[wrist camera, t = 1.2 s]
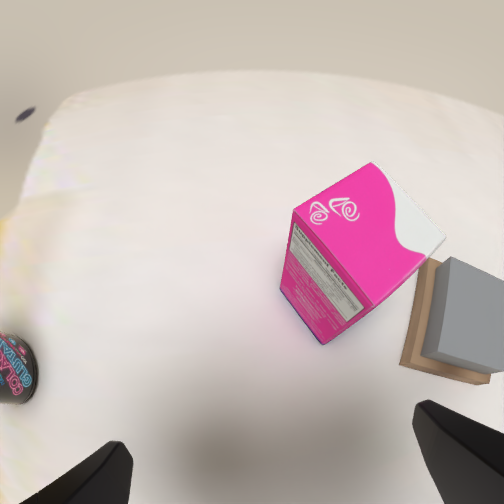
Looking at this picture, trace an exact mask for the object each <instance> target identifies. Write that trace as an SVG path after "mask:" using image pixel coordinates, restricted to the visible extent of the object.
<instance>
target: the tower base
mask: <svg viewBox="0 0 504 504" xmlns="http://www.w3.org/2000/svg"><path fill="white" fill-rule="evenodd" d="M441 264H442V262H439V261H437V260H434V259H432V258H430V257H429V258H428V259H427V260H426V261H425V262H424V263H423V264H422V265H421V266H420V267H419V272H418V279H417V285H416V291H415V297H414V302H413V308H412V313H411V318H410V323H409V327H408V332H407V336H406V340H405V345H404V349H403V353H402V357H401V360H400V364H399V365H401V366H405V367H408V368H412V369H416V370H419V371H423V372H427V373H430V374H434V375H438V376H442V377H446V378H450V379H453V380H457V381H462V382H466V383H470V384H474V385H481V384H489V382H490V377H491V374H486V375H485V374H482V373H478V372H474V371H471V370H467V369H464V368H460V367H456V366H453V365H450V364H446V363H443V362H439V361H436V360H432V359H429V358H426V357H423V356H420V355H421V351H422V347H423V342H424V338H425V333H426V328H427V323H428V318H429V312H430V306H431V300H432V294H433V287H434V279H435V271H436V268H437V267H438V266H440V265H441Z"/></svg>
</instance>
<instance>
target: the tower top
mask: <svg viewBox="0 0 504 504" xmlns="http://www.w3.org/2000/svg"><path fill="white" fill-rule="evenodd" d="M420 356H423V357H426V358H429V359H432V360H436V361H439V362H443V363H446V364H450V365H453V366H456V367H460V368H464V369H467V370H471V371H474V372H478V373H482V374H485V375H486V374H492V373H497V372H502V371H504V281H503V280H500V279H498V278H496V277H494V276H492V275H490V274H488V273H486V272H484V271H482V270H480V269H477V268H475V267H473V266H471V265H469V264H467V263H464V262H462V261H460V260H458V259H456V258H453V257H450V258H448V259H447V260H446V261H445V262H443V263H442V264H441V265H440V266H438V267H437V268H436V271H435V279H434V287H433V294H432V300H431V306H430V312H429V318H428V323H427V328H426V333H425V338H424V342H423V347H422V351H421V355H420Z"/></svg>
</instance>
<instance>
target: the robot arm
mask: <svg viewBox="0 0 504 504" xmlns="http://www.w3.org/2000/svg"><path fill="white" fill-rule="evenodd" d="M412 425H413V429H414V432H415V435H416V438H417V440H418V443H419V446H420V449H421V452H422V455H423V458H424V461H425V463H426V466H427V468H428V470H429V472H430V474H431V476H432V478H433V480H434V483H435V485H436V487H437V489H438V491H439V493H440V495H441V497H442V499H443V501H444V504H504V433H501V432H499V431H497V430H494V429H492V428H490V427H488V426H485V425H483V424H481V423H479V422H476V421H474V420H472V419H470V418H467V417H465V416H463V415H461V414H459V413H457V412H455V411H452V410H450V409H448V408H446V407H444V406H442V405H440V404H438V403H436V402H433V401H431V400H424V401H422V402H419V403H417V404H416V406H415V410H414V416H413V421H412ZM132 470H133V458H132V456H131V454H130V453H129V451H128V450H127V448H126V447H125V445H124V444H123V443H122V442H120V441H109V442H108V443H106V444H105V445H104V446H102V447H101V448H100V449H98V450H97V451H96V452H94V453H93V454H92V455H90V456H89V457H87V458H86V459H85V460H83V461H82V462H81V463H79V464H78V465H76V466H75V467H74V468H72V469H71V470H69V471H68V472H66V473H65V474H64V475H62V476H61V477H59V478H58V479H56V480H55V481H53V482H52V483H51V484H49V485H48V486H46V487H45V488H43V489H42V490H40V491H39V492H38V493H35V494H34V495H32V496H31V497H29V498H28V499H26V500H24V501H23V502H21V503H19V504H128V501H129V494H130V486H131V478H132Z"/></svg>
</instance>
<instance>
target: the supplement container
mask: <svg viewBox="0 0 504 504" xmlns="http://www.w3.org/2000/svg"><path fill="white" fill-rule="evenodd" d="M35 382H36V367H35V362H34V358H33V356H32V353H31V351H30V349H29V348H28V346H27V345H26V344H25V343H24V342H23V341H22V340H21V339H20V338H18V337H16V336H13V335H10V334H7V333H4V332H1V331H0V404H15V405H17V404H21V403H23V402H25V401H26V400H27V399H28V398H29V397H30V396H31V394H32V392H33V390H34V387H35Z"/></svg>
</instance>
